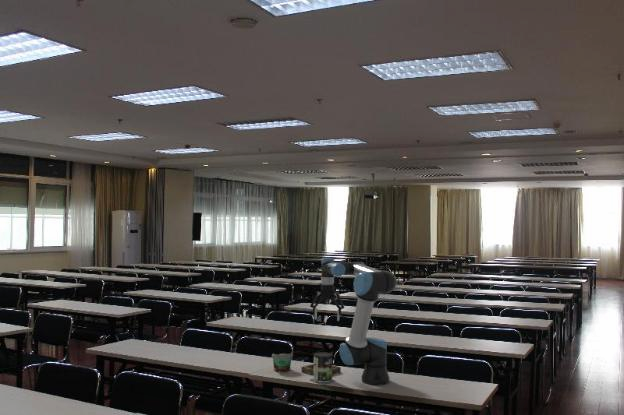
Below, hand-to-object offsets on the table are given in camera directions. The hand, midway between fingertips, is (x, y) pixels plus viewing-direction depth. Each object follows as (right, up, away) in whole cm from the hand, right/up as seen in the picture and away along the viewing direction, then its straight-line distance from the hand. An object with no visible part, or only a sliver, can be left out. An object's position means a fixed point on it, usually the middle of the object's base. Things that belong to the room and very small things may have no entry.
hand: (327, 320), depth 348 cm
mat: (-3, -28, -26) cm, 39 cm away
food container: (-26, -29, -7) cm, 39 cm away
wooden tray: (-4, -29, -8) cm, 30 cm away
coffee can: (-3, -28, -26) cm, 38 cm away
